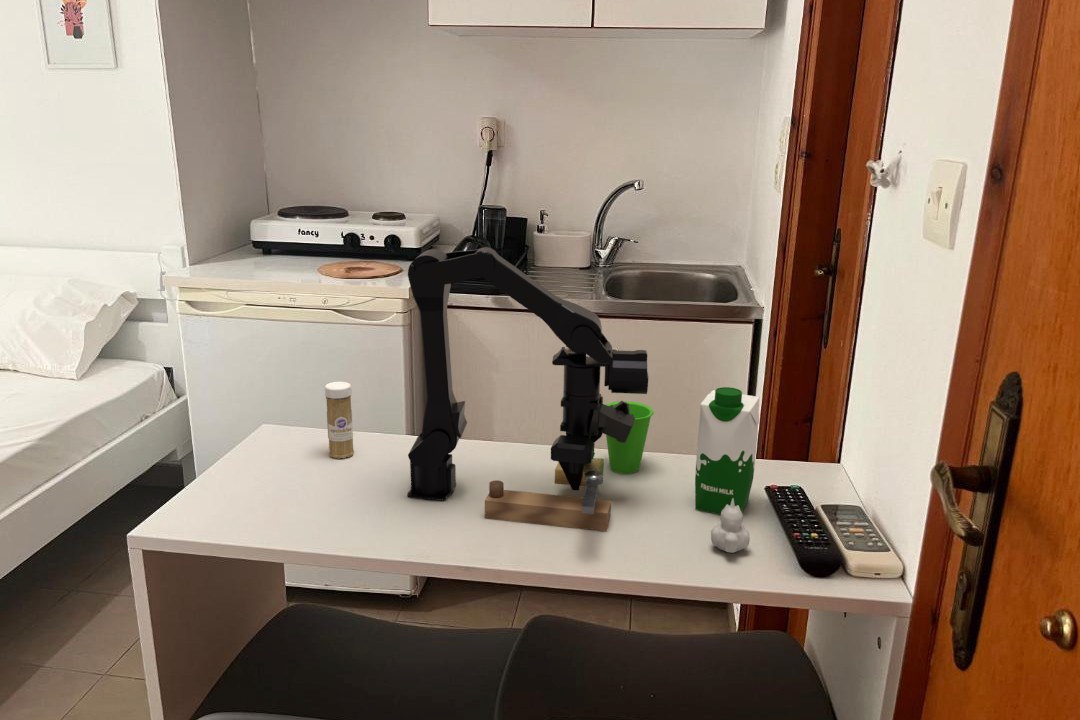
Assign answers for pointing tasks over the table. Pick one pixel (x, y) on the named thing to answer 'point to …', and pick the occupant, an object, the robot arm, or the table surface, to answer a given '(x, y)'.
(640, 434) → the cup
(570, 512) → the body
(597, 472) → the lever
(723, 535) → the white toy figurine
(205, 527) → the table surface
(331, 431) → the sprinkles bottle
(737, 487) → the milk carton
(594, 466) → the gold metal plate
